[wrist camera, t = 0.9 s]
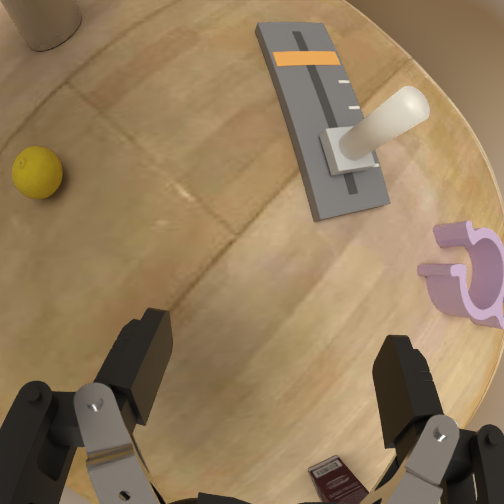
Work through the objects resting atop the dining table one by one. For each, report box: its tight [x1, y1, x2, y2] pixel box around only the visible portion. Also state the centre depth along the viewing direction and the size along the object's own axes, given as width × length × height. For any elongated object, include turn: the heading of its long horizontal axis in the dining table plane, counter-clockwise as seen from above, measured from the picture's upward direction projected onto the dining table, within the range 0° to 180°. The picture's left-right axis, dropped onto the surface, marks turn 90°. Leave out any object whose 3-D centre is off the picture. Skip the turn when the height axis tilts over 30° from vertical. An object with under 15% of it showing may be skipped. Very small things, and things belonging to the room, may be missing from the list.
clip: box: [417, 221, 504, 329], centre depth 37 cm, size 20×12×7 cm, turn 59°
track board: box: [255, 22, 391, 222], centre depth 36 cm, size 28×10×2 cm, turn 14°
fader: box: [319, 86, 430, 176], centre depth 28 cm, size 5×5×14 cm
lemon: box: [12, 146, 63, 199], centre depth 27 cm, size 6×6×8 cm
